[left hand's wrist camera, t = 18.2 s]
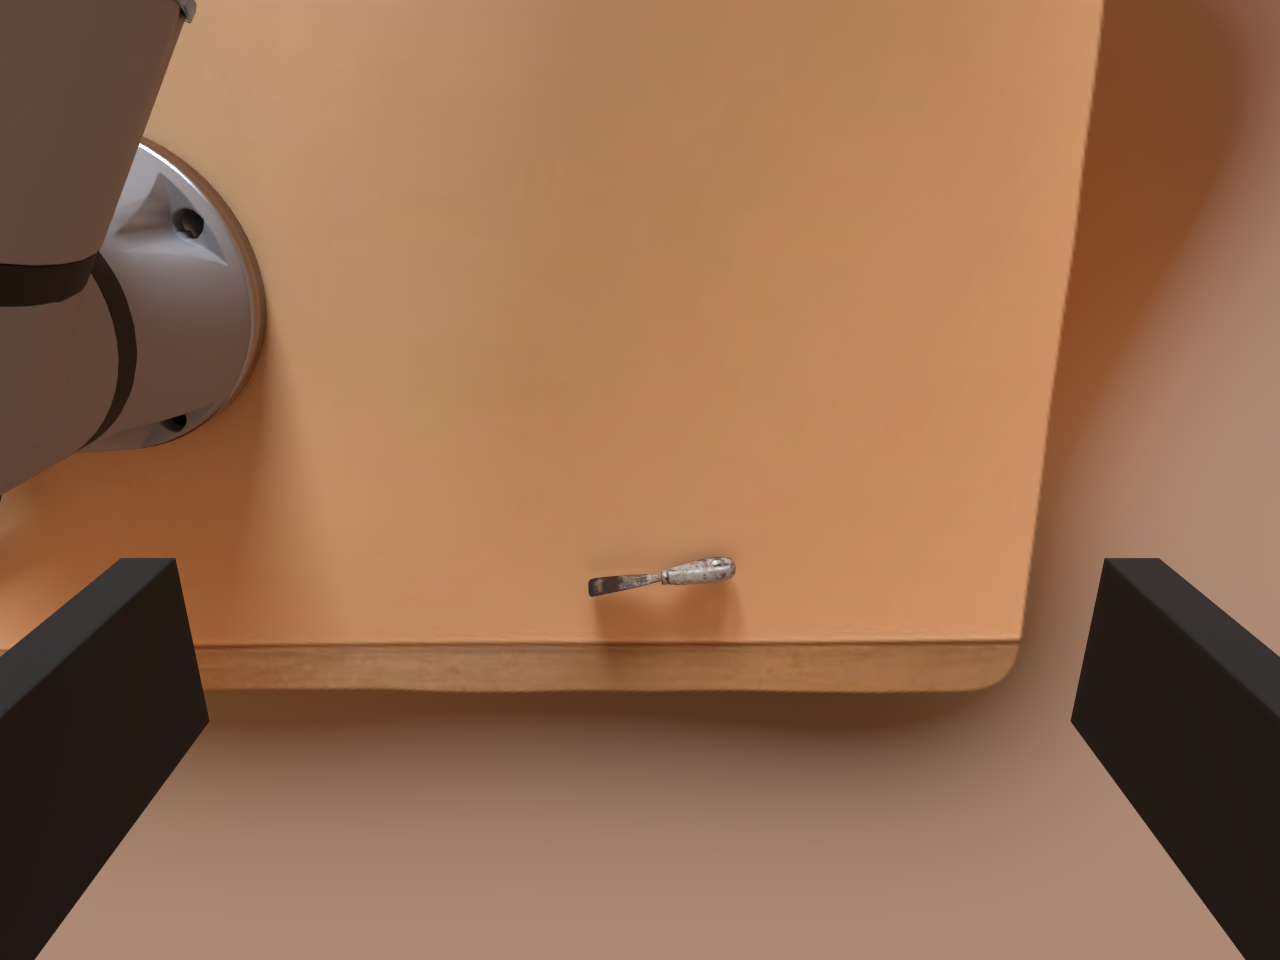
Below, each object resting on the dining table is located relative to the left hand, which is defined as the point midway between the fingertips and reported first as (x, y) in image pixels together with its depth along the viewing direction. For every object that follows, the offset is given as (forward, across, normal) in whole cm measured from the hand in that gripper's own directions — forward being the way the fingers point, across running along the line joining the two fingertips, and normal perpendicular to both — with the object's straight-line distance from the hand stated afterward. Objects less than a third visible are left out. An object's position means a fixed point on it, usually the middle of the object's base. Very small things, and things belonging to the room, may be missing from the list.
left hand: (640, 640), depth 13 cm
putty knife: (+33, -1, +16) cm, 36 cm away
